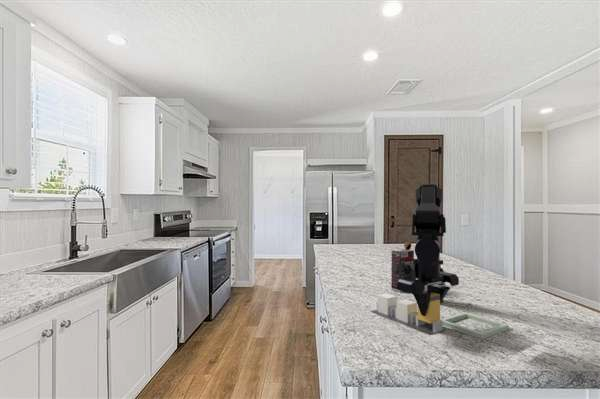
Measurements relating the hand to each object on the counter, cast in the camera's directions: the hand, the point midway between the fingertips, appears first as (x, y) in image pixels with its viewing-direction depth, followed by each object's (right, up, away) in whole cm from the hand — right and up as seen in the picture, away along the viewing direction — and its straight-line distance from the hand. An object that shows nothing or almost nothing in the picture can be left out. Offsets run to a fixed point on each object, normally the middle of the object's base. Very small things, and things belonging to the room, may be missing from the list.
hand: (428, 314), depth 89 cm
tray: (+12, -5, +1) cm, 13 cm away
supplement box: (+7, -6, +45) cm, 45 cm away
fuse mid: (-4, -4, +6) cm, 8 cm away
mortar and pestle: (+12, -6, +55) cm, 57 cm away
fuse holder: (-4, -5, +6) cm, 9 cm away
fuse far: (-8, -4, +13) cm, 15 cm away
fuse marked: (0, -2, 0) cm, 2 cm away
